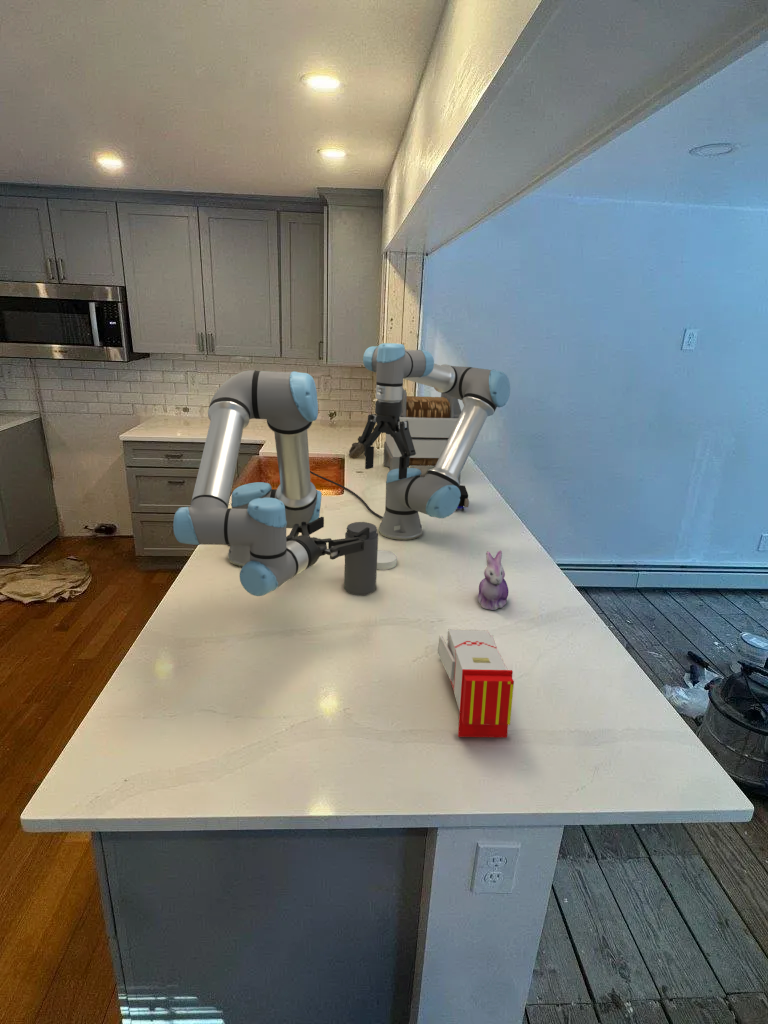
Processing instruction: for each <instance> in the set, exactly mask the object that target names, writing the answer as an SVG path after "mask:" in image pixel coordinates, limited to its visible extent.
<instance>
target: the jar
mask: <svg viewBox="0 0 768 1024" xmlns="http://www.w3.org/2000/svg"><path fill="white" fill-rule="evenodd" d="M367 527H368V528H370V530H369V538H368V539H367V540H366V542H365V550H364V551H360V552H356V553H352V554H348V555H344V570H343V571H344V574H343V575H344V576H343V577H344V578H343V589H344V590H345V592H347V593H348V594H351V595H355V596H366V595H370V594H373V593H374V592H375V591H376V589H377V575H378V574H377V571H378V569H377V551H378V550H379V549H378V548H379V532H378V527H377V525H375V524H374V523H371V522H367V521H355V522H351V523H349V524H347V526H346V532H345V533H344V539H345V538H353V537H354V535H355V534H357V533H359V532H360V531H362V530H363V529H365V528H367Z"/></svg>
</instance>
